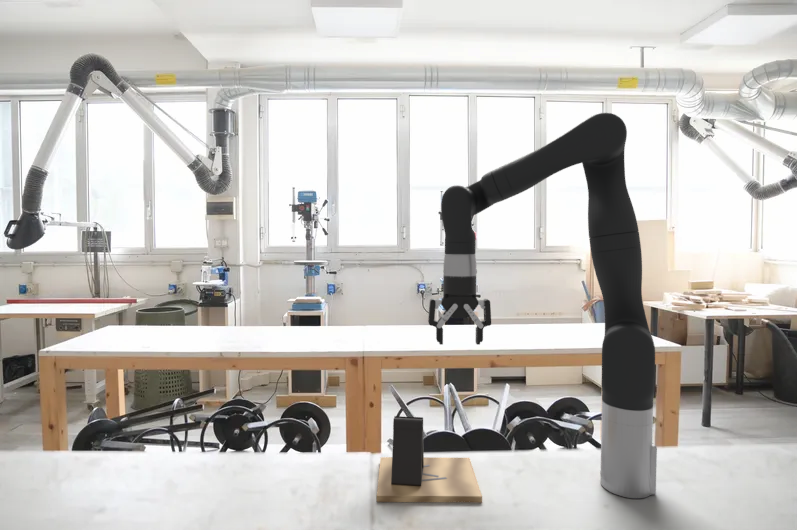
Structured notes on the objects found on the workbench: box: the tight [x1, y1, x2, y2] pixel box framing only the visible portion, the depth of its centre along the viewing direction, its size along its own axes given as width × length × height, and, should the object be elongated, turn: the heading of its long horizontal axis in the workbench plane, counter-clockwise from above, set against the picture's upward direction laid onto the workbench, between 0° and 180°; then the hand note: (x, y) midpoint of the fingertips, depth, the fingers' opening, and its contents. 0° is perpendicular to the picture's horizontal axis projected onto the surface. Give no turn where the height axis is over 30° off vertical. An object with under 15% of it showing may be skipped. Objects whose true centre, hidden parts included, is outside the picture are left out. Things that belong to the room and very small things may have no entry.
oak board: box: [376, 456, 483, 504], centre depth 95 cm, size 20×16×1 cm
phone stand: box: [391, 415, 425, 486], centre depth 95 cm, size 9×6×12 cm, turn 173°
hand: (459, 343), depth 106 cm, fingers open, 8 cm apart
